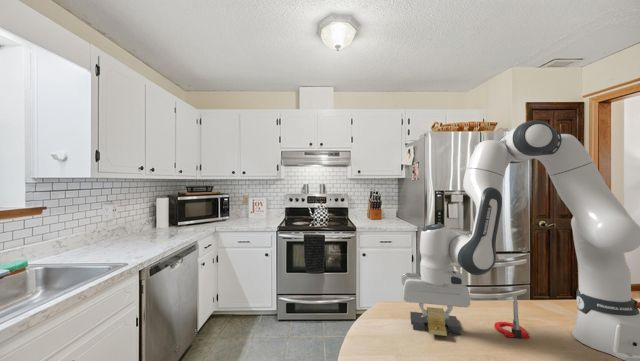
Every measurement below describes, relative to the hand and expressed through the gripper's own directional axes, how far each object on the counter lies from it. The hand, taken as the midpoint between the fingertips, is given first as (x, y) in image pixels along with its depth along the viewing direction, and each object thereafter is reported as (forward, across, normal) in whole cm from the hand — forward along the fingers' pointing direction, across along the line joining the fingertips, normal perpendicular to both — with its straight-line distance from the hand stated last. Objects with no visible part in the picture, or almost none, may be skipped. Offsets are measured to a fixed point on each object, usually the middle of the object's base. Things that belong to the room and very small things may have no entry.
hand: (435, 317), depth 94 cm
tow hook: (+4, +23, +5) cm, 24 cm away
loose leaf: (+3, 0, -2) cm, 3 cm away
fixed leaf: (+4, 0, +4) cm, 5 cm away
